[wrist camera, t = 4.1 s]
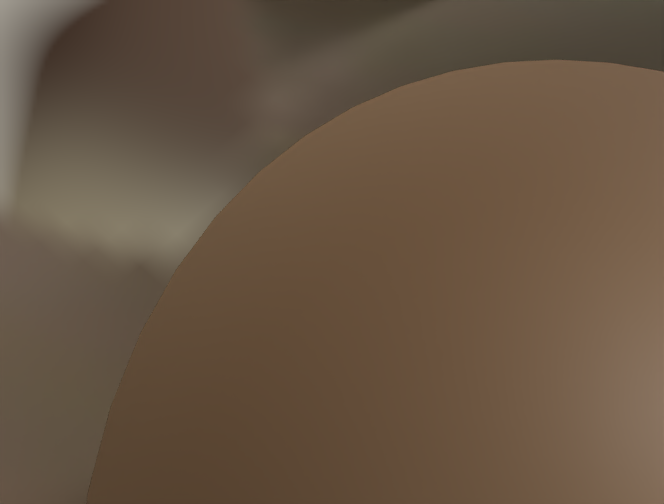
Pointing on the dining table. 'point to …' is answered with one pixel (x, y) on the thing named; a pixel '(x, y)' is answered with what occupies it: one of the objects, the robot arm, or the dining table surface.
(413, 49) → the dining table surface
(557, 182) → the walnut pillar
